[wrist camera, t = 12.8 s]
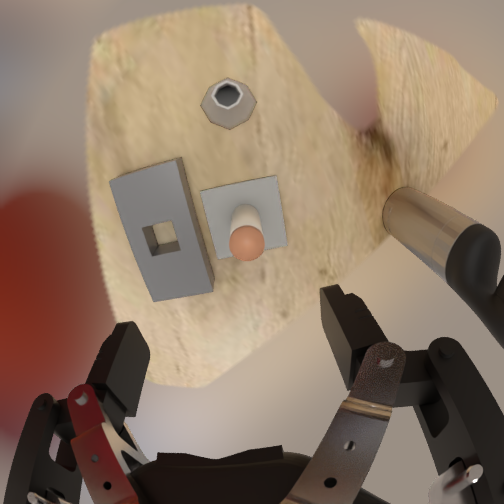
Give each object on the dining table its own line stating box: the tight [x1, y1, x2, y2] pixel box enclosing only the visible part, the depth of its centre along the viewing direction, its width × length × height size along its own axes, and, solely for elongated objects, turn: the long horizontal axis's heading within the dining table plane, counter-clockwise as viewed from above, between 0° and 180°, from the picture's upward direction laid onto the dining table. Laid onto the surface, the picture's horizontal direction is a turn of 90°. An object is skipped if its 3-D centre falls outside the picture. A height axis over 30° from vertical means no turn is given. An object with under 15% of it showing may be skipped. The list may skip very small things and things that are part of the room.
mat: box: [200, 175, 288, 259], centre depth 40 cm, size 11×11×1 cm
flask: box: [200, 78, 257, 130], centre depth 29 cm, size 7×7×10 cm
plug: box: [229, 204, 265, 261], centre depth 35 cm, size 4×4×10 cm
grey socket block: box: [109, 157, 214, 302], centre depth 39 cm, size 10×20×4 cm, turn 11°
